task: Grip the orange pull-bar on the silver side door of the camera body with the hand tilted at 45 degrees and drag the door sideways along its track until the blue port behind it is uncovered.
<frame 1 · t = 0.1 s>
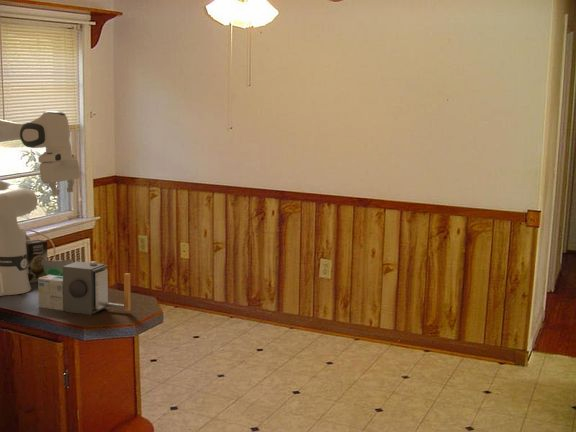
hand: (63, 193, 273), 39 cm above the worktop, tool pointing down, fingers open, 8 cm apart
side door: (113, 291, 259), point 8 cm above the worktop, slide at 0.0 cm
camera body: (84, 309, 263), on the worktop
food container: (57, 285, 297), on the worktop
coffee box: (34, 281, 302), on the worktop
milk carton: (19, 276, 309), on the worktop
light bulb box: (56, 307, 266), on the worktop
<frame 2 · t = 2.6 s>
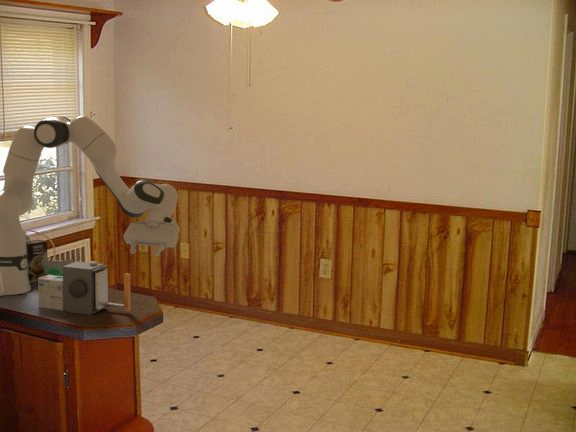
hand: (144, 253, 270), 19 cm above the worktop, tool tilted 45°, fingers open, 8 cm apart
nothing on the worktop moved.
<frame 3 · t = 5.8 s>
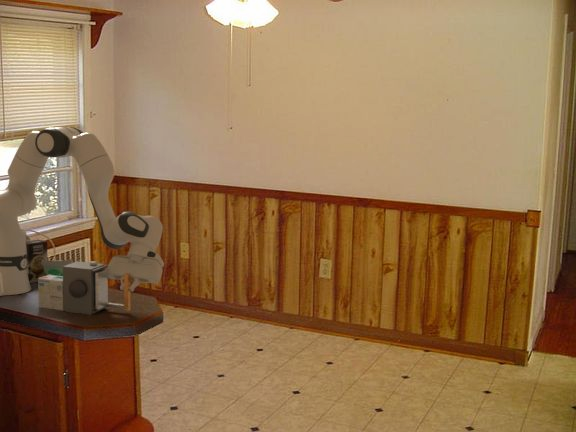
hand: (126, 290, 259), 8 cm above the worktop, tool tilted 45°, fingers closed, pressing on side door
side door: (113, 291, 259), point 8 cm above the worktop, slide at 0.0 cm, touching gripper
everything else where it was.
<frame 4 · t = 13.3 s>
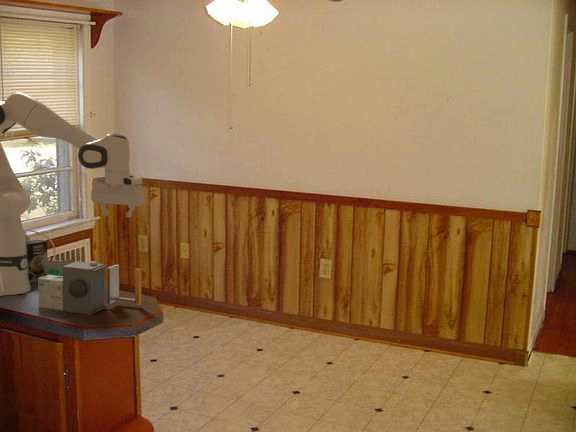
hand: (117, 216, 275), 31 cm above the worktop, tool pointing down, fingers open, 8 cm apart
side door: (124, 286, 267), point 8 cm above the worktop, slide at 7.9 cm
everything else where it was.
at the end: side door slide at 7.9 cm; the gripper is holding nothing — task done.
